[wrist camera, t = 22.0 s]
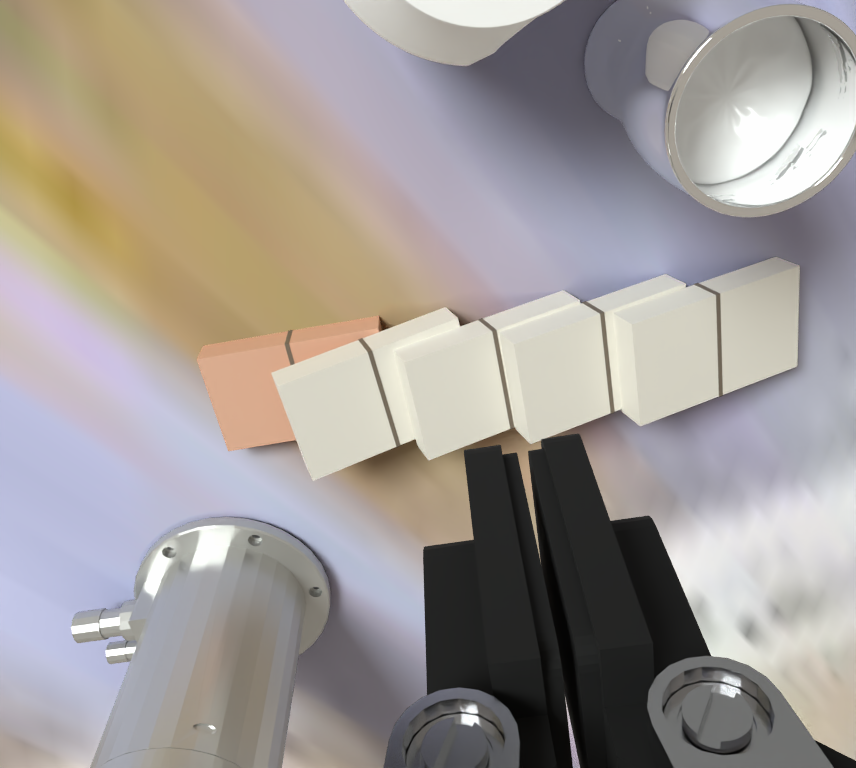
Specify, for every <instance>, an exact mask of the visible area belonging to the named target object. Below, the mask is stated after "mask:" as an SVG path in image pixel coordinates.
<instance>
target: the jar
mask: <svg viewBox="0 0 856 768" xmlns="http://www.w3.org/2000/svg"><path fill="white" fill-rule="evenodd" d="M563 1H566V0H344V2H345V3H346V4H347V5H348V7H349V8H350V9H351V10H352V11H353V12H354V13H355V15H356V16H357V17H358V18H359V19H360V20H361V21H362V22H363V23H365V24H366V25H367V26H368V27H369V28H370V29H371V30H373V31H374V32H375V33H376V34H378V35H379V36H381V37H382V38H383V39H385V40H386V41H388V42H389V43H391V44H393V45H394V46H396V47H398V48H400V49H402V50H404V51H406V52H408V53H410V54H413V55H415V56H418V57H420V58H423V59H427V60H430V61H434V62H438V63H443V64H448V65H456V66H469V65H471V64H473V63H475V62H477V61H479V60H481V59H483V58H485V57H487V56H489V55H491V54H493V53H494V52H496V51H497V50H498V48H499V47H500V46H502V45H503V44H504V43H505V42H506V41H507V40H509V39H510V38H511V37H512V36H514V35H515V34H516V33H517V32H519V31H520V30H521V29H522V28H524V27H525V26H526V25H527V24H529V23H530V22H531V21H533V20H534V19H535V18H537V17H538V16H542V15H543V14H544V13H547V12H549V11H550V10H551V9H554V8H555V7H556V6H557V5H560V4H561V3H562V2H563Z"/></svg>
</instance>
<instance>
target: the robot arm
mask: <svg viewBox="0 0 856 768" xmlns="http://www.w3.org/2000/svg"><path fill="white" fill-rule="evenodd" d="M541 447H542V449H539V450H532V451H528V455H529V465H530V473H531V482H532V490H533V499H534V507H535V516H536V525H537V533H538V542H539V550H540V558H539V553H538V549H537V544H536V539H535V535H534V530H533V525H532V521H531V516H530V512H529V507H528V502H527V498H526V493H525V488H524V484H523V479H522V474H521V470H520V465H519V461H518V456H517V453H511V454H504V455H502V450H501V445H496V446H489V447H483V448H476V449H469V450H464V457H465V466H466V474H467V483H468V492H469V501H470V510H471V519H472V527H473V536H474V540H469V541H462V542H455V543H448V544H441V545H433V546H426V547H424V550H423V564H424V599H425V634H426V669H427V696H424V697H422V698H420V699H419V700H418V701H416V702H415V703H414V704H412V705H411V706H410V707H408V708H407V709H406V710H405V711H404V713H403V714H402V715H401V717H400V718H399V719H398V721H397V722H396V723H395V725H394V728H393V731H392V733H391V736H390V739H389V742H388V747H387V752H386V758H385V763H384V768H573V765H572V756H571V747H570V738H569V729H568V720H567V711H566V702H567V707H568V711H569V716H570V721H571V726H572V730H573V735H574V740H575V745H576V749H577V754H578V759H579V764H580V768H856V761H855V760H853V759H851V758H849V757H847V756H845V755H843V754H841V753H839V752H837V751H835V750H833V749H831V748H829V747H827V746H825V745H823V744H821V743H819V742H817V741H815V740H814V739H813V737H812V736H811V735H810V733H809V732H808V730H807V729H806V728H805V726H804V725H803V723H802V722H801V720H800V719H799V718H798V716H797V715H796V713H795V712H794V710H793V709H792V708H791V706H790V705H789V703H788V702H787V700H786V699H785V698H784V696H783V695H782V693H781V692H780V691H779V690H778V689H777V688H776V687H775V685H774V684H773V683H772V682H771V681H770V680H769V679H768V678H767V677H766V676H764V675H763V674H761V673H760V672H758V671H756V670H755V669H753V668H752V667H750V666H748V665H746V664H743V663H740V662H737V661H734V660H731V659H729V658H722V657H713V656H711V654H710V652H709V650H708V647H707V645H706V643H705V640H704V638H703V636H702V633H701V631H700V629H699V626H698V624H697V622H696V619H695V617H694V615H693V612H692V610H691V607H690V605H689V603H688V600H687V598H686V596H685V593H684V591H683V589H682V586H681V584H680V582H679V579H678V577H677V575H676V572H675V570H674V568H673V565H672V563H671V560H670V558H669V556H668V553H667V551H666V549H665V546H664V544H663V542H662V539H661V537H660V535H659V532H658V530H657V528H656V525H655V523H654V521H653V520H652V518H651V517H650V516H643V517H636V518H629V519H621V520H614V521H610V519H609V516H608V513H607V510H606V507H605V505H604V502H603V499H602V496H601V493H600V490H599V488H598V485H597V482H596V479H595V476H594V473H593V470H592V468H591V465H590V462H589V459H588V456H587V453H586V450H585V448H584V445H583V442H582V439H581V437H580V434H573V435H566V436H559V437H552V438H545V439H541ZM540 559H541V562H540ZM134 597H135V600H128V601H125V602H124V603H123V605H122V606H121V608H116V609H106V608H103V609H96V610H88V611H81V612H78V613H76V614H75V615H74V617H73V620H72V626H71V627H72V635H73V638H74V640H75V641H76V642H77V643H83V642H90V641H97V640H105V639H108V638H109V637H116V636H123V638H124V639H125V640H124V641H117V642H110V643H109V644H108V645H107V649H106V658H107V661H108V663H109V664H114V663H122V662H129V661H130V664H129V666H128V669H127V672H126V674H125V677H124V680H123V682H122V685H121V688H120V690H119V693H118V695H117V698H116V701H115V703H114V706H113V709H112V711H111V714H110V717H109V719H108V722H107V725H106V727H105V730H104V732H103V735H102V738H101V740H100V743H99V746H98V748H97V751H96V754H95V756H94V759H93V762H92V764H91V767H90V768H282V763H283V757H284V750H285V743H286V736H287V730H288V723H289V716H290V710H291V703H292V696H293V690H294V683H295V676H296V670H297V663H298V656H299V655H301V654H302V653H304V652H305V651H306V650H307V649H308V648H309V647H311V646H312V645H313V644H314V643H315V641H316V640H317V639H318V638H319V636H320V635H321V634H322V632H323V630H324V627H325V625H326V623H327V621H328V615H329V609H330V598H331V590H330V586H329V581H328V577H327V575H326V573H325V571H324V569H323V566H322V564H321V563H320V562H319V560H318V559H317V558H316V556H315V555H314V554H313V553H312V551H311V550H309V549H308V548H307V547H306V546H305V545H304V544H303V543H302V542H300V541H299V540H298V539H296V538H295V537H293V536H291V535H290V534H288V533H286V532H285V531H283V530H281V529H278V528H276V527H273V526H271V525H269V524H266V523H262V522H258V521H254V520H250V519H245V518H233V517H219V518H207V519H202V520H198V521H193V522H189V523H187V524H185V525H182V526H180V527H177V528H175V529H173V530H172V531H170V532H169V533H167V534H165V535H164V536H162V537H161V538H160V539H159V540H158V541H157V542H156V543H155V544H154V545H153V546H152V547H151V548H150V549H149V550H148V552H147V554H146V556H145V557H144V559H143V561H142V563H141V565H140V568H139V570H138V573H137V575H136V579H135V586H134ZM565 697H566V702H565Z"/></svg>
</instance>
